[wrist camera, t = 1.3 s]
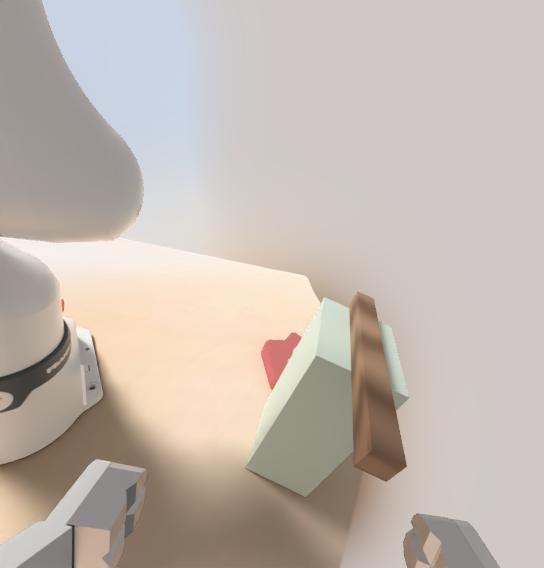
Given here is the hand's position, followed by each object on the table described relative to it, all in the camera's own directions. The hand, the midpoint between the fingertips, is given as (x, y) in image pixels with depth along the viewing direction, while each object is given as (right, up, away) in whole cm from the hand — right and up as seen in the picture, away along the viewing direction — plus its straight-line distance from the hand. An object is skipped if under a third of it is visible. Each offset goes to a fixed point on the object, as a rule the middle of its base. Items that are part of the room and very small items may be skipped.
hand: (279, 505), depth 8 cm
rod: (+9, -2, +20) cm, 22 cm away
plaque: (+6, -13, +53) cm, 55 cm away
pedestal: (+2, -21, +36) cm, 42 cm away
